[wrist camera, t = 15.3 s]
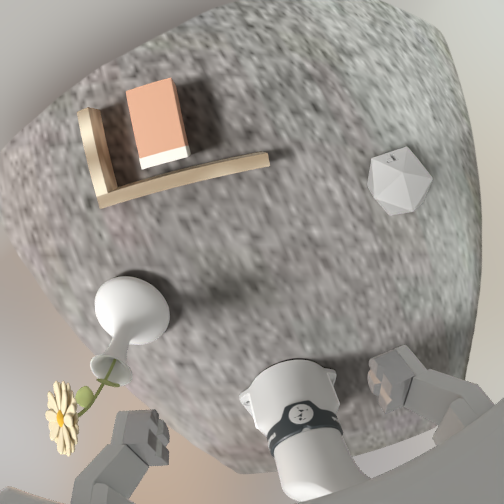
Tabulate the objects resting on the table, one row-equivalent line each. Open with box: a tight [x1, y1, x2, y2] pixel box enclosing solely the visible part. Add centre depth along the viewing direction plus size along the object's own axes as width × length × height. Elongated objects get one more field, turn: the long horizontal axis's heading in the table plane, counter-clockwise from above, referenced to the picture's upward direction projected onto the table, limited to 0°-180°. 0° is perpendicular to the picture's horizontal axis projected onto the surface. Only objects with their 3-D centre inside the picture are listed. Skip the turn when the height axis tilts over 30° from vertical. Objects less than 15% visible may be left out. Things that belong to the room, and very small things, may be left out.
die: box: [367, 147, 433, 215], centre depth 34 cm, size 8×9×10 cm
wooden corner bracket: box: [77, 107, 270, 209], centre depth 30 cm, size 12×20×4 cm, turn 100°
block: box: [126, 78, 191, 169], centre depth 29 cm, size 5×9×5 cm, turn 10°
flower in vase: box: [46, 276, 170, 456], centre depth 28 cm, size 13×11×25 cm
